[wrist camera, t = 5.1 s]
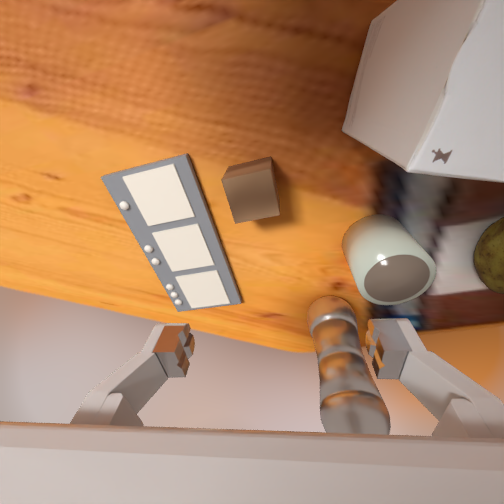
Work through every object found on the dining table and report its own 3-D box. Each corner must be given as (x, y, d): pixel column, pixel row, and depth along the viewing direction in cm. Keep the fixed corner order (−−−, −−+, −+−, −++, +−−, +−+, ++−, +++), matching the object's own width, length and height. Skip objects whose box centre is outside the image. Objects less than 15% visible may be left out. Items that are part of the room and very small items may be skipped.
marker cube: (228, 166, 26) (221, 179, 23) (271, 156, 26) (270, 168, 22) (240, 205, 29) (235, 223, 25) (279, 197, 28) (279, 215, 24)
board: (104, 175, 28) (99, 178, 27) (187, 153, 26) (184, 155, 25) (179, 307, 39) (177, 313, 38) (241, 299, 37) (240, 305, 36)
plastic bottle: (314, 326, 39) (344, 506, 22) (297, 297, 36) (318, 481, 19) (356, 315, 37) (423, 503, 20) (342, 283, 34) (408, 475, 17)
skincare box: (399, 139, 24) (534, 199, 11) (336, 130, 24) (402, 182, 11) (447, 20, 19) (763, -95, 7) (368, 9, 19) (540, -123, 7)
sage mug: (340, 220, 29) (357, 256, 23) (406, 208, 28) (442, 243, 22) (343, 268, 33) (358, 309, 27) (401, 260, 31) (431, 301, 25)
